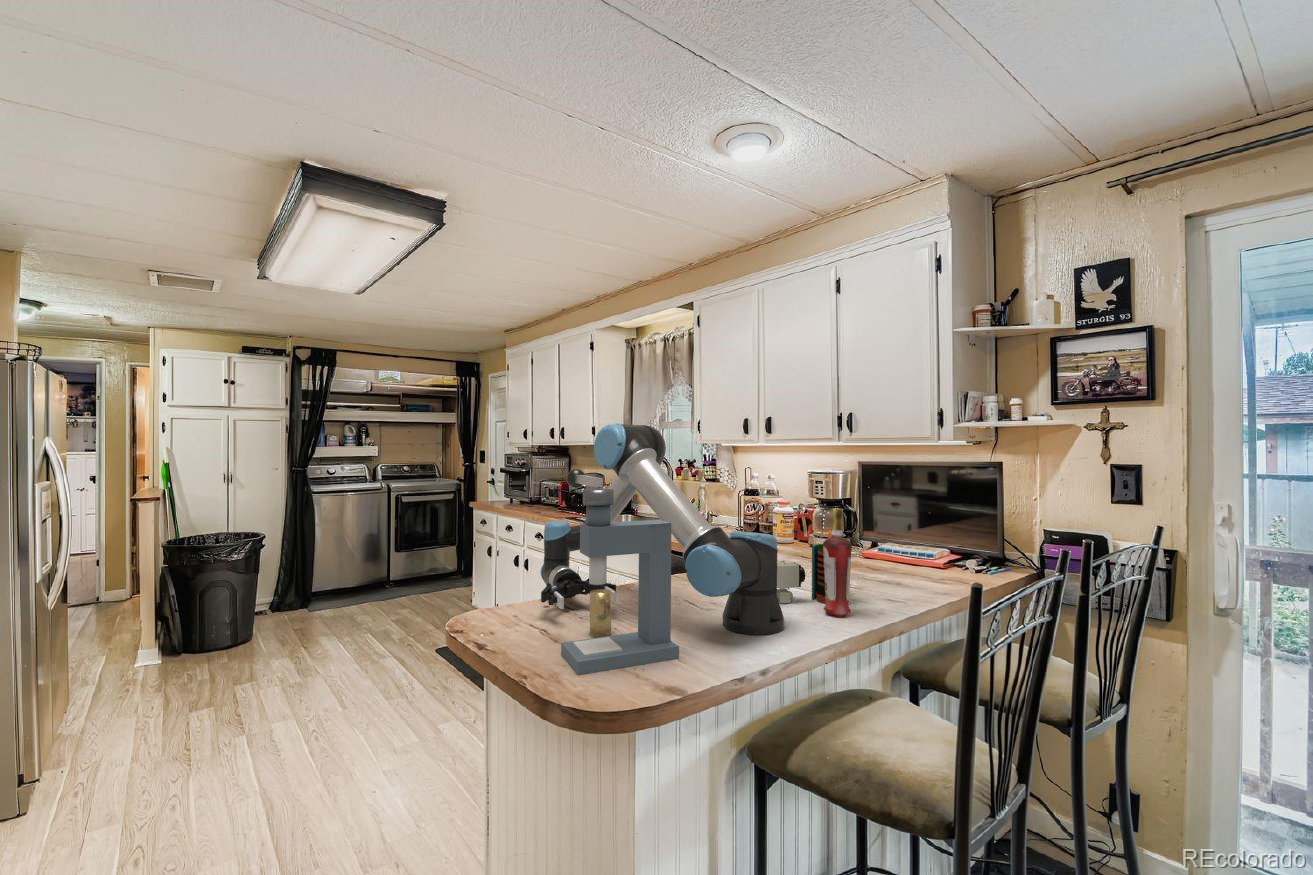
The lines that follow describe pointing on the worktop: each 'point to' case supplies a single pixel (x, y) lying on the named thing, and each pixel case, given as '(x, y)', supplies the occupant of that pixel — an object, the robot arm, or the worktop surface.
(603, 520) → the press frame
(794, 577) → the pneumatic valve
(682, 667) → the worktop surface
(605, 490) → the lever
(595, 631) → the cylinder
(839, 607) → the liquor
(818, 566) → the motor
